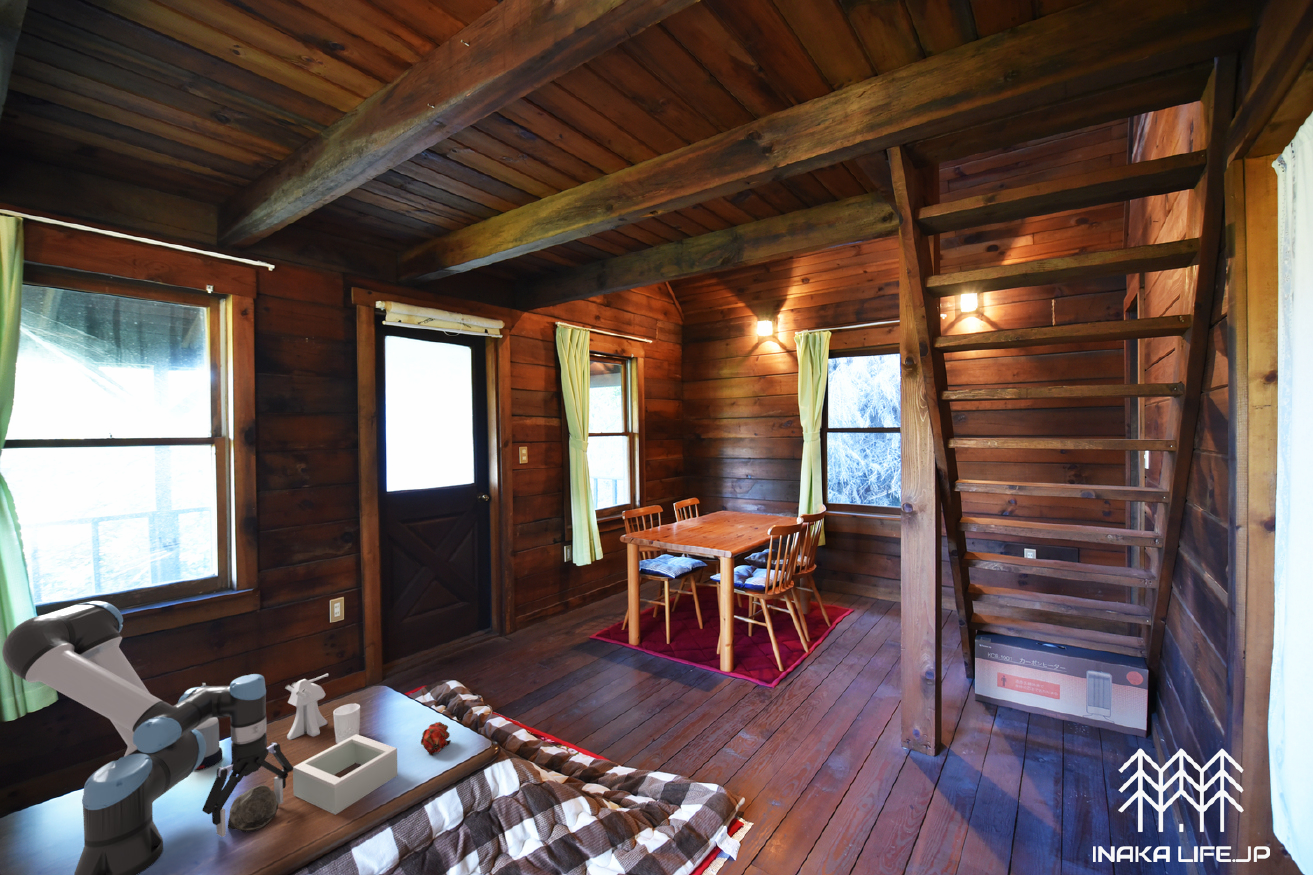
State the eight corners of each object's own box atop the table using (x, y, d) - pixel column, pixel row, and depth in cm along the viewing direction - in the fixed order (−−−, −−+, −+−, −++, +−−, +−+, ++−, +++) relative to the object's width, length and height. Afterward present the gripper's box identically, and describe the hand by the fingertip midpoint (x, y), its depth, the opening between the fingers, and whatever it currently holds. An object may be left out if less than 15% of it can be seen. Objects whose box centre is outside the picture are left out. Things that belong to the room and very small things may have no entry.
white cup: (335, 736, 187) (334, 706, 187) (361, 730, 190) (360, 701, 190) (332, 747, 180) (331, 717, 180) (360, 741, 183) (359, 711, 183)
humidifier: (193, 773, 167) (191, 691, 167) (185, 764, 172) (183, 684, 172) (226, 760, 174) (224, 681, 174) (218, 752, 179) (216, 675, 179)
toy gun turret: (338, 725, 194) (336, 674, 194) (297, 743, 183) (295, 689, 183) (320, 717, 200) (319, 667, 200) (279, 734, 189) (278, 681, 189)
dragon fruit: (438, 743, 184) (438, 768, 173) (415, 734, 181) (414, 758, 169) (454, 721, 185) (454, 744, 173) (431, 711, 181) (430, 734, 170)
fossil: (251, 837, 138) (234, 801, 139) (226, 850, 140) (209, 814, 141) (288, 807, 149) (272, 774, 150) (264, 819, 151) (248, 786, 151)
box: (335, 814, 147) (334, 784, 147) (293, 795, 156) (292, 766, 156) (397, 775, 164) (396, 748, 164) (356, 759, 173) (356, 733, 173)
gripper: (199, 766, 132) (201, 854, 132) (306, 717, 154) (308, 793, 154) (184, 758, 135) (186, 844, 135) (290, 712, 158) (292, 786, 158)
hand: (251, 817), depth 145 cm, fingers open, 13 cm apart
